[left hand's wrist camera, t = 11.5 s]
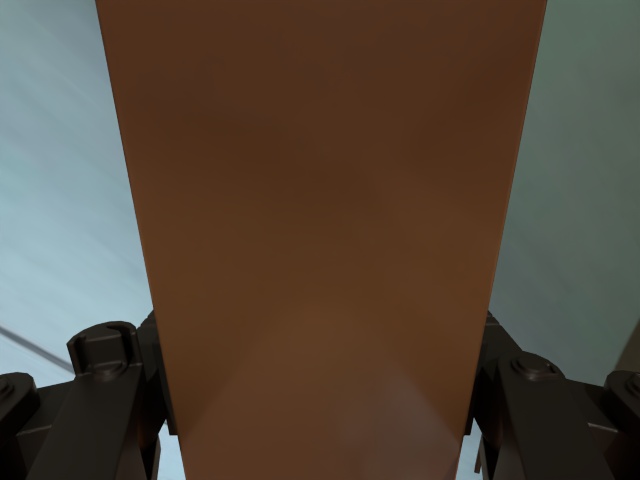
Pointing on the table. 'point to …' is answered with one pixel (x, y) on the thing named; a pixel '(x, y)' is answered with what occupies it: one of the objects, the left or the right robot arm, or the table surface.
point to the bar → (320, 219)
